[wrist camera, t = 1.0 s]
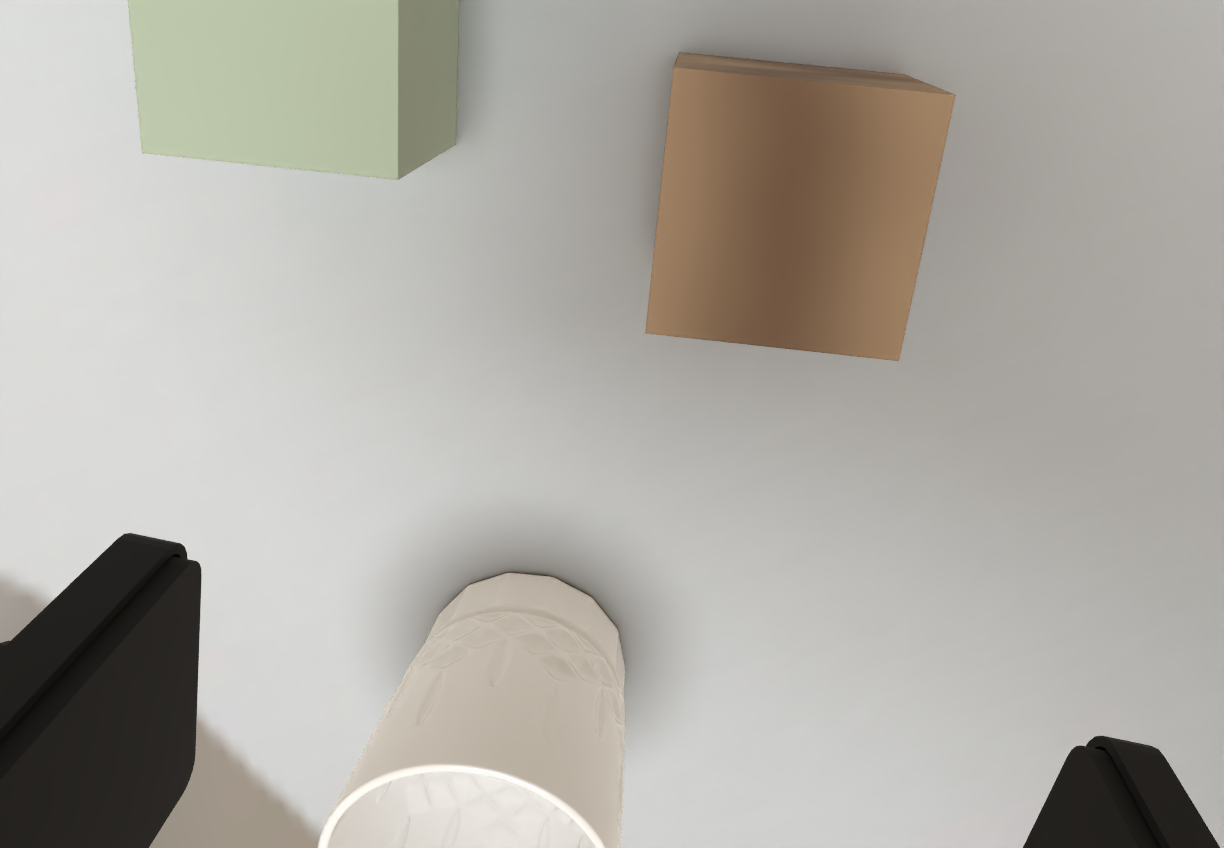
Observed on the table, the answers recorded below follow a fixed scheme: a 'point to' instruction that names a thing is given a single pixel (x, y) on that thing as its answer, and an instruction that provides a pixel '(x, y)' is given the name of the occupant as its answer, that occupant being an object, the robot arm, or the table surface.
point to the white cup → (498, 730)
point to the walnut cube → (794, 204)
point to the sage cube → (298, 82)
